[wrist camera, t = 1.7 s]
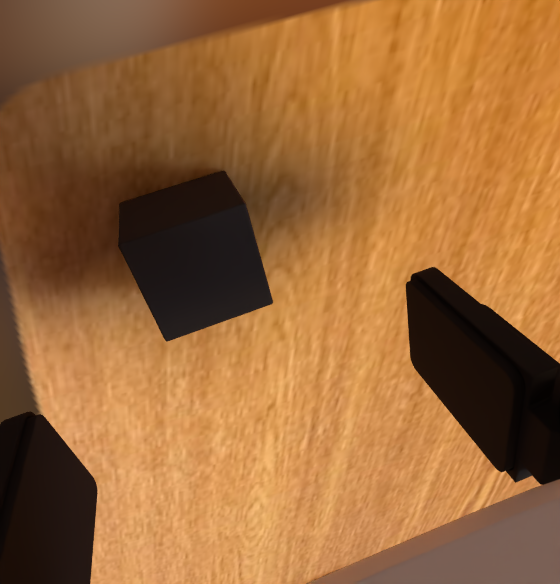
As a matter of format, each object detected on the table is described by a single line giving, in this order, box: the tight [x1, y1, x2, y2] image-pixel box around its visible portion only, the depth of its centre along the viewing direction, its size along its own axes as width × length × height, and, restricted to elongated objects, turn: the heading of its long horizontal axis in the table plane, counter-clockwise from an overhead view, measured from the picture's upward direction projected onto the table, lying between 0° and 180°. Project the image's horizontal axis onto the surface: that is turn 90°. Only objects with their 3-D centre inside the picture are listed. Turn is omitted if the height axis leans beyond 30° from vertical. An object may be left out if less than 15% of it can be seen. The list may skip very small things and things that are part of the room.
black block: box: [118, 171, 273, 341], centre depth 16 cm, size 4×4×4 cm
